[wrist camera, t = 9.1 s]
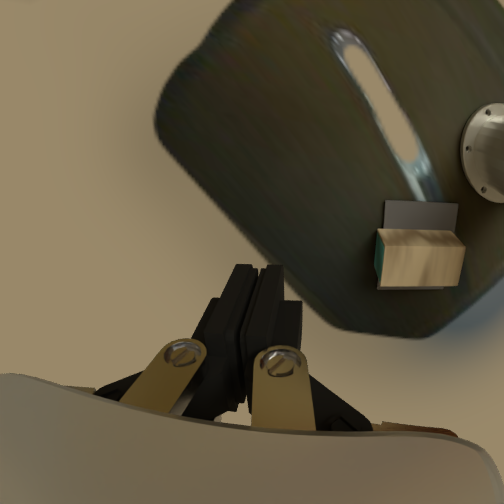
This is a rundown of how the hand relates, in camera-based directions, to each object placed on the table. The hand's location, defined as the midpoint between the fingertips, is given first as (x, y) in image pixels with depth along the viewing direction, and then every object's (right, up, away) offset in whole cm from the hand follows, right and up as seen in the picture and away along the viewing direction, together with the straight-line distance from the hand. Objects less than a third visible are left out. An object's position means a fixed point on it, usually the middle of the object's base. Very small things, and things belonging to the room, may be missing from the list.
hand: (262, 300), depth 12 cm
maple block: (+14, +1, +24) cm, 28 cm away
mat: (+20, +2, +25) cm, 33 cm away
